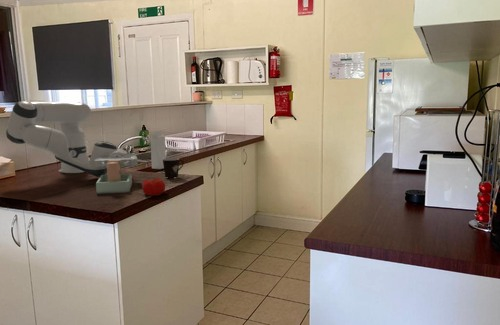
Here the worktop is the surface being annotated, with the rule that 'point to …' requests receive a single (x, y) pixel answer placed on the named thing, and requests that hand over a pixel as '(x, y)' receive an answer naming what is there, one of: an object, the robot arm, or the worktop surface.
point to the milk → (158, 150)
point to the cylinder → (113, 171)
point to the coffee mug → (171, 167)
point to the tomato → (153, 187)
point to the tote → (114, 184)
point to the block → (119, 166)
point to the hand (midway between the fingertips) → (114, 164)
